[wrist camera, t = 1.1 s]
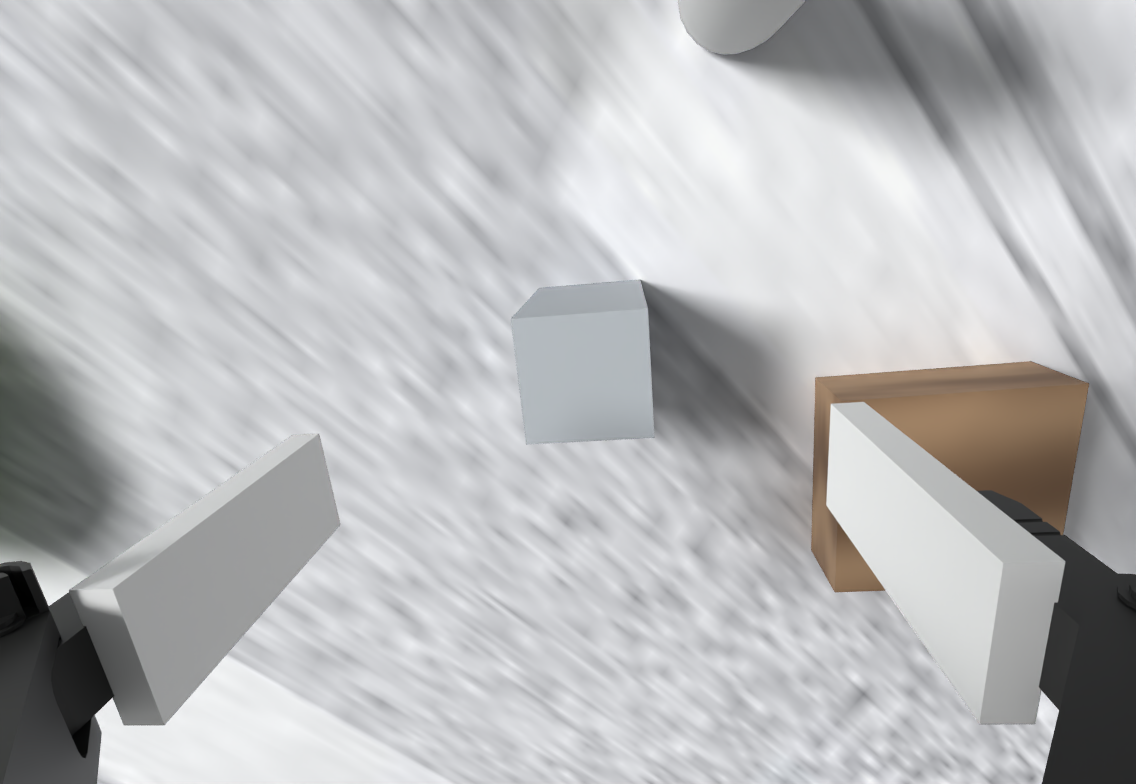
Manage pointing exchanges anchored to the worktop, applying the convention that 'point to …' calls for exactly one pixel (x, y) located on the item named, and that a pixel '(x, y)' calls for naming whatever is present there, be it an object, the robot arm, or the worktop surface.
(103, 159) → the worktop surface
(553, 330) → the slate block
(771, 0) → the beverage can
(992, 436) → the walnut block
